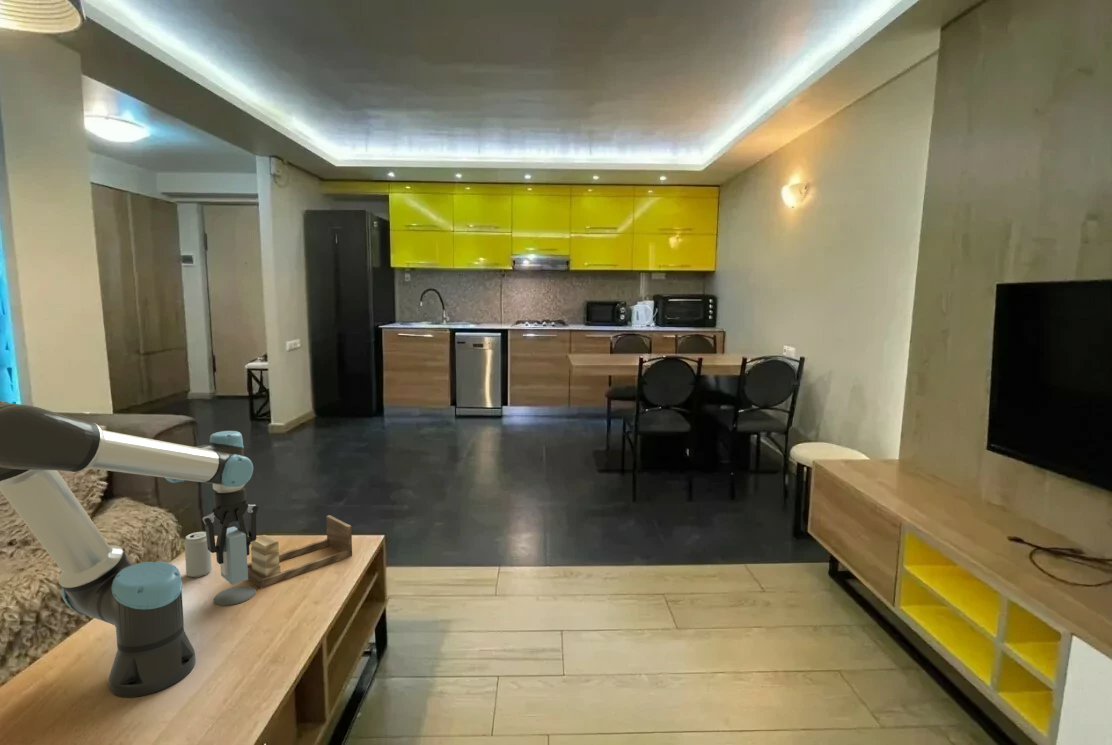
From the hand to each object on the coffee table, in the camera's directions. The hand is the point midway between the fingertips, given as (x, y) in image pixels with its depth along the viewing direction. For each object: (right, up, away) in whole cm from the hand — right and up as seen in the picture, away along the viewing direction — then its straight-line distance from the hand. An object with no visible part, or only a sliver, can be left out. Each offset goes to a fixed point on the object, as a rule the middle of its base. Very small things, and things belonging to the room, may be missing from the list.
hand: (234, 570), depth 151 cm
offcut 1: (+2, +2, +12) cm, 13 cm away
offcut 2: (+2, -2, +13) cm, 13 cm away
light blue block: (0, -2, 0) cm, 2 cm away
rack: (+8, -5, +20) cm, 23 cm away
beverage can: (-18, -6, +13) cm, 23 cm away
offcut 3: (+2, -6, +13) cm, 15 cm away
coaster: (0, -7, +1) cm, 7 cm away
